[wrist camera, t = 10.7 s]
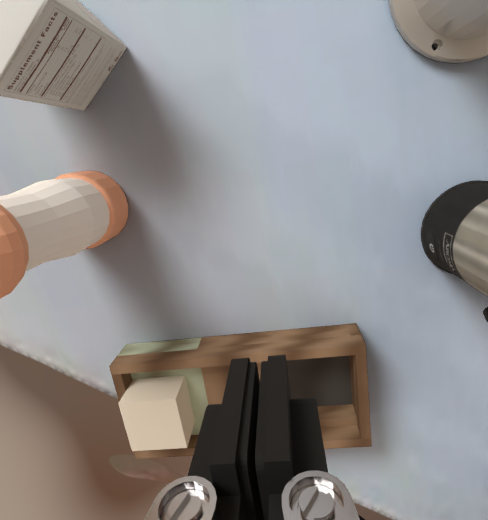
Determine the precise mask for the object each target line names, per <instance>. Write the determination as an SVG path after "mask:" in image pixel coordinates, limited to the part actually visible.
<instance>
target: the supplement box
mask: <svg viewBox="0 0 488 520" xmlns="http://www.w3.org/2000/svg"><path fill="white" fill-rule="evenodd" d="M125 50H126V46H125V45H124V44H123V43H122V42H121V41H120V40H119V39H118V38H117V37H116V36H115V35H114V34H113V33H112V32H111V31H110V30H109V29H108V28H107V27H106V26H105V25H103V24H102V23H101V22H100V21H99V20H98V19H97V18H96V17H95V16H94V15H93V14H92V13H91V12H90V11H89V10H87V9H86V8H85V7H84V6H83V5H82V4H81V3H80V2H79V1H77V0H0V96H3V97H8V98H14V99H20V100H25V101H31V102H36V103H42V104H48V105H54V106H59V107H65V108H71V109H78V110H85V109H86V107H87V106H88V105H89V103H90V102H91V101H92V99H93V98H94V96H95V94H96V93H97V92H98V90H99V89H100V87H101V86H102V84H103V83H104V81H105V80H106V78H107V77H108V75H109V74H110V72H111V71H112V70H113V68H114V67H115V65H116V63H117V62H118V61H119V59H120V57H121V56H122V55H123V53H124V51H125Z"/></svg>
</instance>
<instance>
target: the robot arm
mask: <svg viewBox="0 0 488 520" xmlns="http://www.w3.org/2000/svg"><path fill="white" fill-rule="evenodd" d="M389 6H390V12H391V15H392V17H393V20H394V23H395V26H396V27H397V29H398V31H399V32H400V34H401V35H402V37H403V39H404V40H405V41H406V42H407V43H408V44H409V45H410V46H411V47H412V48H413V49H414V50H416V51H417V52H419V53H421V54H422V55H424V56H425V57H428V58H431V59H433V60H436V61H440V62H448V63H461V62H469V61H473V60H476V59H480V58H483V57H485V56H488V0H389ZM432 45H435V47H436V49H435V50H433V49H432ZM145 520H365V519H363V518H362V517H361V516H359V515H358V513H357V511H356V508H355V505H354V503H353V500H352V498H351V495H350V493H349V491H348V489H347V488H346V486H345V484H344V483H343V482H341V481H340V480H339V479H338V478H337V477H335V476H333V475H331V474H329V473H328V470H327V464H326V457H325V451H324V445H323V439H322V432H321V426H320V420H319V413H318V407H317V401H316V397H313V398H299V399H291V392H290V384H289V376H288V368H287V360H286V355H274V356H268V361H262V362H261V374H260V380H259V373H258V367H257V362H250V358H238V359H231V363H230V367H229V372H228V377H227V381H226V386H225V391H224V396H223V400H222V404H211V405H208V406H207V407H206V410H205V413H204V417H203V421H202V425H201V428H200V432H199V436H198V440H197V443H196V447H195V451H194V455H193V459H192V462H191V466H190V469H189V473H188V476H186V477H182V478H179V479H176V480H175V481H173V482H171V483H170V484H168V485H167V486H166V487H165V488H164V489H163V490H161V491H160V493H159V494H158V496H157V497H156V499H155V500H154V502H153V504H152V506H151V508H150V510H149V512H148V514H147V516H146V518H145Z"/></svg>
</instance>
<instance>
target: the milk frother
mask: <svg viewBox="0 0 488 520" xmlns="http://www.w3.org/2000/svg"><path fill="white" fill-rule="evenodd" d="M421 241H422V245H423V248H424V251H425V253H426V255H427V256H428V258H429V259H430V260H431V261H432V262H433V263H434V264H435V265H436V266H437V267H439V268H440V269H442V270H444V271H446V272H449V273H452V274H454V275H456V276H458V277H459V278H461V279H463V280H464V281H466V282H467V283H469V284H470V285H471V286H473V287H474V288H475V289H477V290H478V291H480V292H481V293H483V294H484V295H486V296H488V181H469V182H465V183H461V184H458V185H456V186H454V187H452V188H450V189H448V190H447V191H445V192H444V193H443V194H441V195H440V196H439V197H438V198H437V199H436V200H435V201H434V202H433V203H432V205H431V206H430V207H429V209H428V211H427V212H426V214H425V217H424V219H423V222H422V228H421ZM483 314H484V316H485V319H486V321H487V322H488V307H487V308H485V310H484V311H483Z"/></svg>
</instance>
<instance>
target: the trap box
mask: <svg viewBox="0 0 488 520" xmlns="http://www.w3.org/2000/svg"><path fill="white" fill-rule="evenodd" d="M274 355H286V360H287V368H288V376H289V384H290V392H291V399H299V398H313V397H316V401H317V407H318V413H319V420H320V426H321V432H322V439H323V445H324V449H330V448H349V447H369V446H372V445H371V428H370V411H369V393H368V376H367V359H366V345H365V342H364V340H363V338H362V336H361V333H360V331H359V329H358V327H357V325H356V323H355V324H344V325H333V326H322V327H311V328H300V329H289V330H278V331H267V332H256V333H245V334H234V335H223V336H212V337H201V338H190V339H179V340H168V341H157V342H146V343H135V344H126V345H125V346H124V348H123V349H122V350H121V352H120V353H119V354H118V356H117V357H116V358H115V359H114V361H113V362H112V363H111V365H110V366H109V367H110V371H111V374H112V378H113V381H114V385H115V389H116V392H117V396H118V399H119V401H120V400H121V398H122V396H123V395H124V393H125V392H126V390H127V388H128V387H129V385H130V383H131V382H132V380H133V379H145V378H157V377H169V376H181V375H185V377H186V382H187V386H188V391H189V395H190V400H191V404H192V408H193V413H194V417H195V423H194V426H193V430H192V433H191V437H190V440H189V443H188V447H187V448H178V449H161V450H144V451H133V452H134V456H135V459H136V458H155V457H175V456H193V455H194V451H195V447H196V443H197V440H198V436H199V432H200V428H201V425H202V421H203V417H204V413H205V410H206V407H207V406H208V405H211V404H222V400H223V396H224V391H225V386H226V381H227V377H228V372H229V367H230V363H231V359H238V358H250V362H257V367H258V373H259V380H260V374H261V362H262V361H268V356H274Z"/></svg>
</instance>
